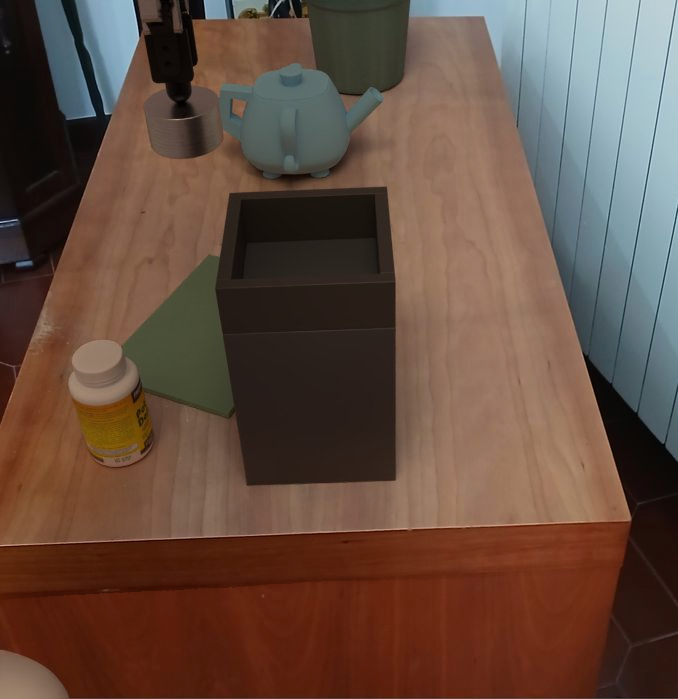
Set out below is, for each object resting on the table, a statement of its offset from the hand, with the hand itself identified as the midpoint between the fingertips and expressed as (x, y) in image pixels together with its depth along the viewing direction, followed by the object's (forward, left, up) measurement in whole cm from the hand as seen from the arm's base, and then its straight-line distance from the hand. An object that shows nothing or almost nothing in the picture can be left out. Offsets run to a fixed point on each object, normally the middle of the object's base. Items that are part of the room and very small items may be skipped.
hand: (175, 71), depth 72 cm
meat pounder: (0, 0, -6) cm, 6 cm away
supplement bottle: (-16, 0, -27) cm, 31 cm away
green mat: (0, 0, -26) cm, 26 cm away
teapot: (+32, +7, -26) cm, 42 cm away
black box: (-8, -15, -26) cm, 31 cm away
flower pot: (+56, +10, -26) cm, 63 cm away
